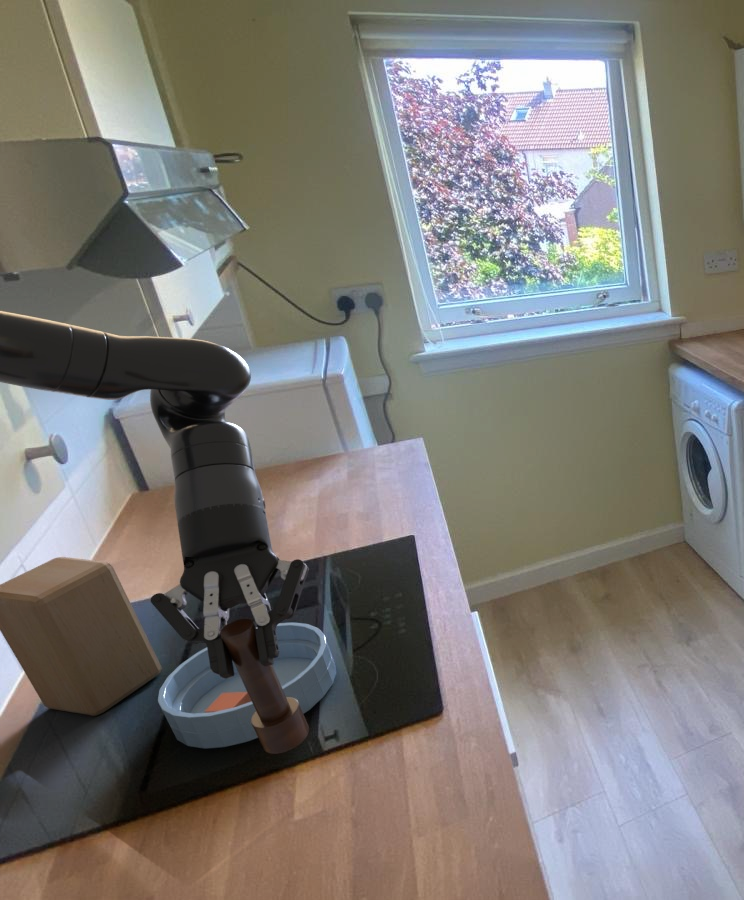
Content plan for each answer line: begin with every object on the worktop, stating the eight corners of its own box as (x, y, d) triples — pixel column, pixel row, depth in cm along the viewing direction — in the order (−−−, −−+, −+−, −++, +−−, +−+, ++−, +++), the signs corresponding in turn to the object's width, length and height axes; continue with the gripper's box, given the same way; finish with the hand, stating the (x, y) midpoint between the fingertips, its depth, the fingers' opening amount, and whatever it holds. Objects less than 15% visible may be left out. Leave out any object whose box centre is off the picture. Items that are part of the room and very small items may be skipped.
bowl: (195, 776, 93) (177, 740, 90) (159, 705, 104) (143, 672, 102) (358, 691, 106) (346, 658, 104) (310, 637, 118) (299, 606, 115)
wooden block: (115, 663, 113) (58, 553, 105) (167, 671, 111) (113, 559, 103) (42, 710, 104) (-27, 593, 96) (98, 719, 102) (32, 601, 94)
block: (239, 730, 99) (230, 710, 97) (213, 731, 99) (204, 711, 97) (256, 711, 102) (248, 691, 101) (231, 712, 102) (222, 692, 101)
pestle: (267, 760, 79) (213, 648, 72) (259, 736, 82) (207, 626, 75) (313, 738, 82) (266, 628, 74) (304, 715, 85) (257, 607, 77)
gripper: (123, 521, 73) (144, 691, 68) (289, 487, 79) (318, 640, 74) (155, 543, 79) (176, 699, 75) (306, 510, 86) (334, 652, 81)
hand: (247, 669), depth 75 cm, fingers closed on pestle, 3 cm apart
